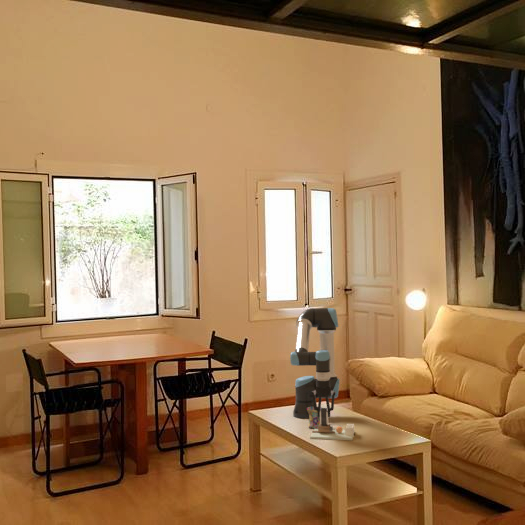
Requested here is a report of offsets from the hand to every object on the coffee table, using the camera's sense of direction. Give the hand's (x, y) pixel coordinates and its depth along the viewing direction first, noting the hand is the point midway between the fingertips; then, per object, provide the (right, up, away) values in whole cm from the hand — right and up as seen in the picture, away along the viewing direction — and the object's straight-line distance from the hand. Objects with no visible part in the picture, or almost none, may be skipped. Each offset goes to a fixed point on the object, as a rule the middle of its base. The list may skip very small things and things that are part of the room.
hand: (324, 423), depth 331 cm
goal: (+13, -6, -3) cm, 15 cm away
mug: (-4, -6, +16) cm, 18 cm away
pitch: (+4, -6, -2) cm, 8 cm away
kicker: (+1, -4, 0) cm, 4 cm away
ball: (+8, -3, -2) cm, 9 cm away
